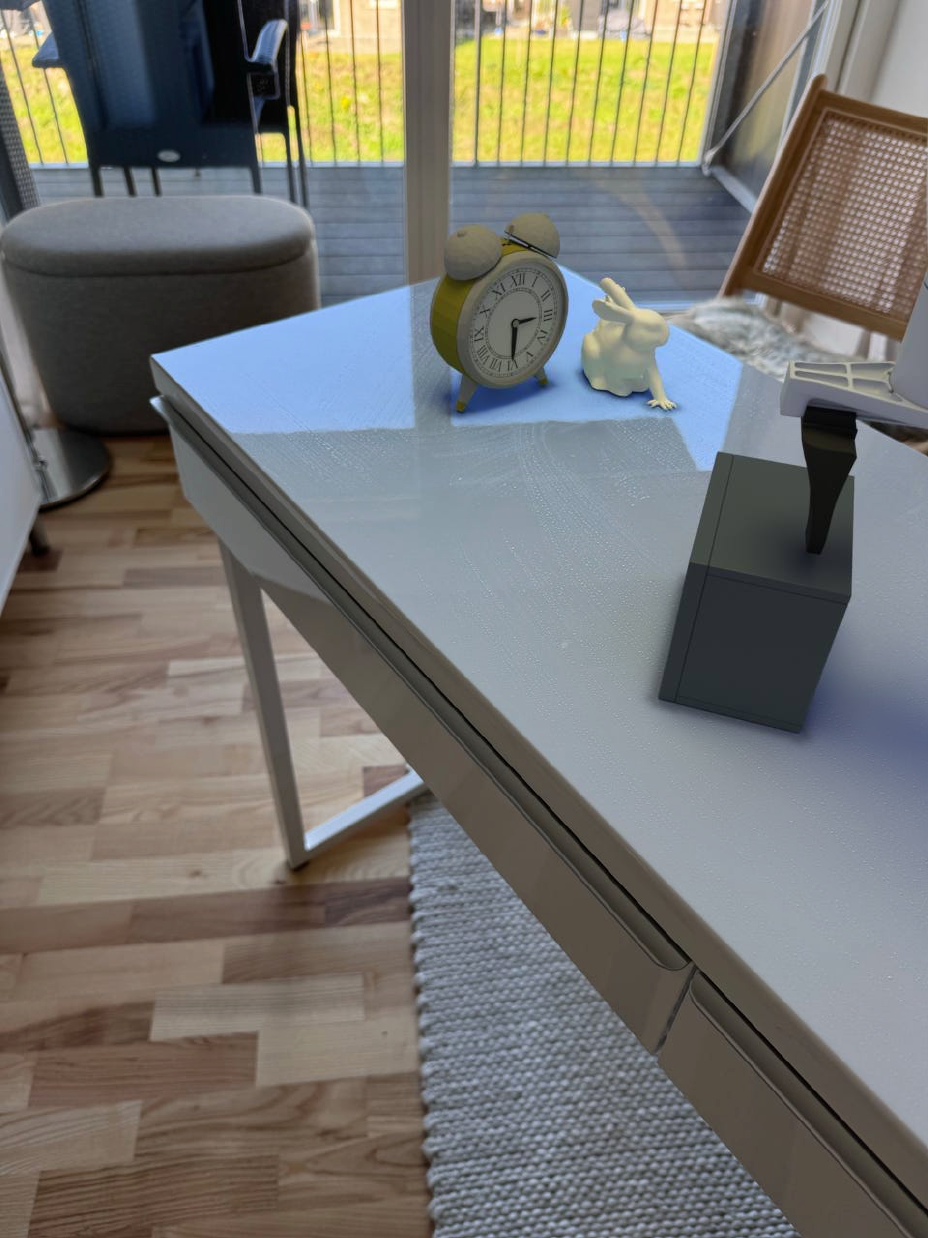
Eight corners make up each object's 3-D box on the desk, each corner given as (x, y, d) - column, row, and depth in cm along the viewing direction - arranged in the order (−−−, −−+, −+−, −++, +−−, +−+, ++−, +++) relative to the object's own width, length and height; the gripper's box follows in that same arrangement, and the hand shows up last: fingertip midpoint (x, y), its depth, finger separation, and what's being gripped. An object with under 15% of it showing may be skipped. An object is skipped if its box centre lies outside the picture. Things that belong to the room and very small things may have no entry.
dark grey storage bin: (809, 606, 60) (854, 475, 54) (799, 733, 52) (851, 595, 45) (687, 580, 62) (717, 450, 56) (657, 698, 53) (689, 561, 47)
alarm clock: (460, 422, 78) (464, 241, 69) (415, 391, 82) (414, 217, 73) (563, 388, 84) (581, 216, 74) (517, 361, 88) (528, 195, 78)
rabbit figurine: (677, 410, 81) (698, 302, 75) (599, 421, 79) (614, 311, 73) (619, 354, 90) (633, 253, 83) (547, 362, 88) (557, 260, 81)
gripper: (1158, 278, 40) (1027, 535, 49) (813, 242, 42) (747, 492, 51) (1215, 343, 35) (1057, 618, 43) (817, 297, 37) (744, 565, 46)
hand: (890, 555), depth 47 cm, fingers open, 7 cm apart
